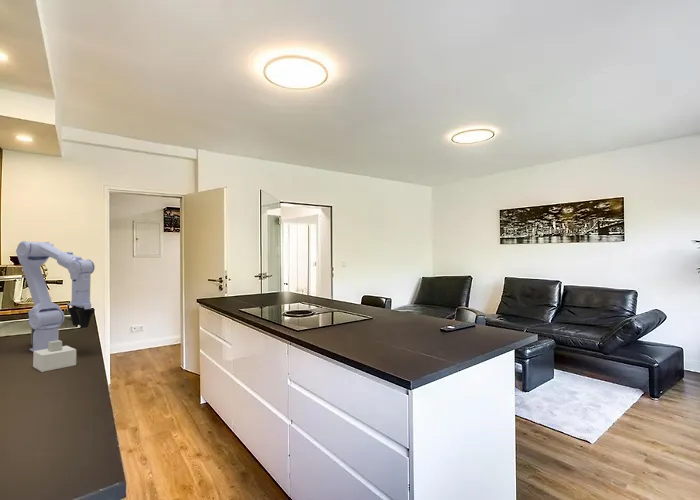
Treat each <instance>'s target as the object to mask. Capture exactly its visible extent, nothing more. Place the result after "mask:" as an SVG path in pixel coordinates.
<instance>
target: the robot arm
mask: <svg viewBox="0 0 700 500" xmlns="http://www.w3.org/2000/svg"><path fill="white" fill-rule="evenodd" d="M15 253H16V255H17V258H18V262H19V264H20V265H21V268H22V270H23V274H24V277H25V278H24V279H25V280H26V284H27V286H28V287H27V288H28V290H29V294H30V296H31V300H32V302H33V305H34V306H33V307H32V308H31V309H29V311H28V314H27V315H28V324H29V326H30V327H32V328H33V329H35V331H34V333H33V346H32V348H29V351H31V352H33V353H34V351H37V350H43V349H48V342H50V341H56V340H59V333H60V330H59V329H60V327H62V326H61V325H62V324H63V323H64V321H65V317H66V316H65V313H64V312H63V311H62V309H61V307H60V304H57V303H54V302H53V301H52V298H51V295H50V293H49V289H48V286H47V284H46V281H45V278H44V277H45V276H44V274H43V272H42V268H41V266H42V265H44V264H46V262H47V261H48V260H49V259H50V258H51V259H54V260H55V261H56V263H57V264H58V265H59V266H61V267H63V268H65V269H67V270H68V273H69V275H70V276H69V277H70V280H71V301H70V302H69V303H67V306H70V307H67V308H66V310H67V311H68V313H69V315H70V319H71V323H72V325H73V326H74V327H75V326H79V327H80V328H81V329H85V328H88V327H89V325H90V321H91V318H92V316H93V314H94V312H95V310H96V309H95V308H92V303H91V275H92V274H93V273H94V272H95V268H96V267H95V263H94V261H92V260H91V259H83V258H82V256H78V255H75V254H74V252H73V251H65V252H63V251H62V250H60V249H58V248H57V247H55V245H54V243H51V242H50V241H43V242H42V241H26V240H23V241H21V242H19V243H18V244H17V248H16V249H15Z"/></svg>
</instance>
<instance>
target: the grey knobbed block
mask: <svg viewBox="0 0 700 500" xmlns="http://www.w3.org/2000/svg"><path fill="white" fill-rule="evenodd" d="M32 357H33V358H32V359H33V360H32V362H33V363H32V368H34V369H36V370H38V371H40V372H41V373H43V372H48V371H52V370H57V369H63V368H69V367H73V366H76V365H77V349H76V348H74V347H71V346H69V345H63V340H60V339H58V340H56V341H50V342H48V349H43V350H37V351H34V352H33V355H32Z"/></svg>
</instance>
